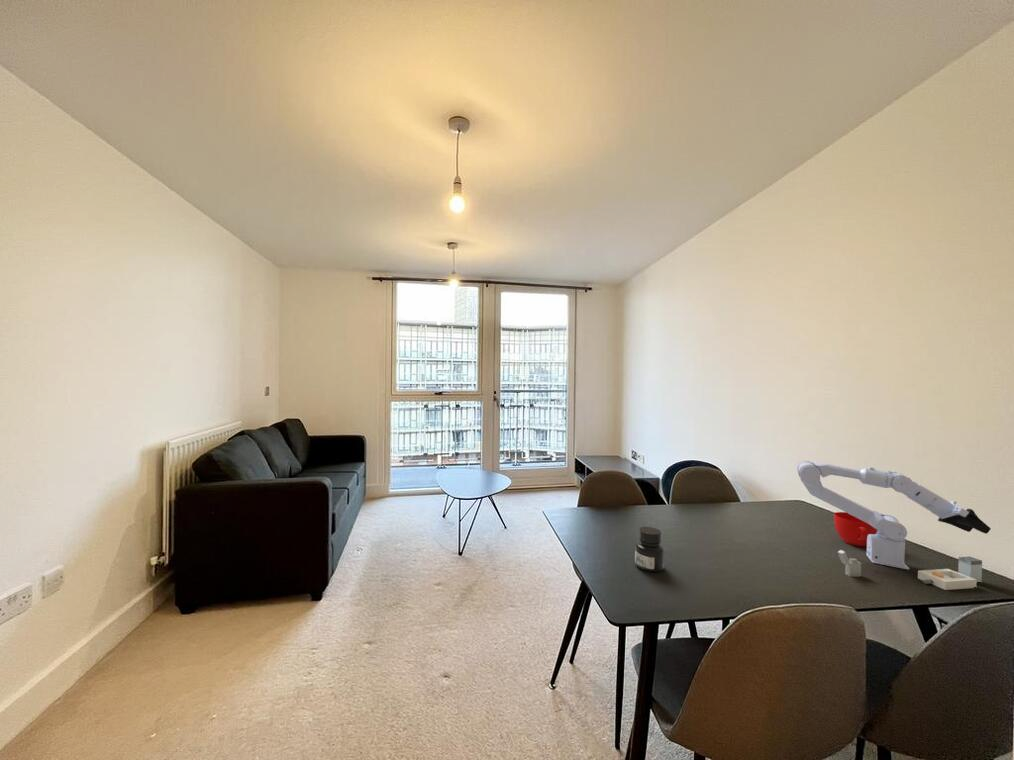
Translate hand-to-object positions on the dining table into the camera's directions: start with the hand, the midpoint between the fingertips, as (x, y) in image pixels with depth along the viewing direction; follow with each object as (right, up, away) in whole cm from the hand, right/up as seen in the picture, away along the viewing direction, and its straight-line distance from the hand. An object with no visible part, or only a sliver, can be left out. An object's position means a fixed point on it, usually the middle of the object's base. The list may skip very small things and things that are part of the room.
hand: (979, 530), depth 126 cm
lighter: (-41, -15, +1) cm, 44 cm away
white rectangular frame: (-14, -16, -2) cm, 21 cm away
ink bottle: (-105, -14, +4) cm, 106 cm away
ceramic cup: (-16, -16, +26) cm, 35 cm away
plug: (-3, -16, 0) cm, 16 cm away
